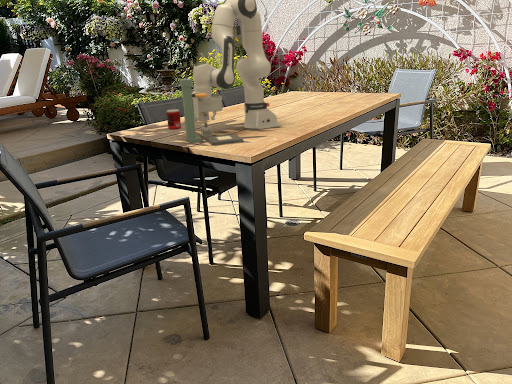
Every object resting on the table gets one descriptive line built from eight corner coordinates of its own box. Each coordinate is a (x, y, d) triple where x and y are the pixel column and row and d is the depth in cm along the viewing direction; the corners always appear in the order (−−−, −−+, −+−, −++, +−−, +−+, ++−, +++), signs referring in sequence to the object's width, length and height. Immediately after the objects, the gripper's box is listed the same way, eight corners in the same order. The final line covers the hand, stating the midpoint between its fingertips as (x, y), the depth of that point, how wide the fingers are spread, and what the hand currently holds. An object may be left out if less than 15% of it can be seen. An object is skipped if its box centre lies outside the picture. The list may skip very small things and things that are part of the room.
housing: (210, 134, 227) (209, 121, 224) (212, 136, 222) (211, 123, 220) (201, 135, 225) (200, 122, 223) (203, 137, 221) (202, 124, 218)
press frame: (198, 139, 216) (193, 78, 205) (201, 141, 208) (196, 79, 198) (185, 140, 214) (179, 79, 203) (187, 143, 206) (181, 80, 196)
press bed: (235, 137, 217) (235, 133, 216) (243, 142, 204) (243, 138, 204) (206, 140, 212) (205, 136, 211) (212, 145, 199) (211, 142, 199)
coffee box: (209, 119, 274) (208, 95, 269) (204, 121, 269) (202, 96, 263) (198, 119, 278) (196, 95, 273) (193, 120, 273) (190, 96, 268)
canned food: (182, 127, 251) (180, 109, 248) (180, 129, 244) (178, 111, 240) (169, 127, 251) (167, 109, 248) (167, 130, 244) (165, 111, 240)
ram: (207, 115, 212) (205, 93, 208) (209, 117, 207) (208, 94, 203) (192, 116, 210) (190, 94, 206) (195, 118, 205) (192, 95, 201)
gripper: (220, 93, 222) (221, 118, 226) (182, 94, 216) (184, 120, 220) (223, 93, 216) (224, 120, 221) (184, 95, 210) (186, 122, 215)
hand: (204, 120), depth 220 cm, fingers open, 8 cm apart
